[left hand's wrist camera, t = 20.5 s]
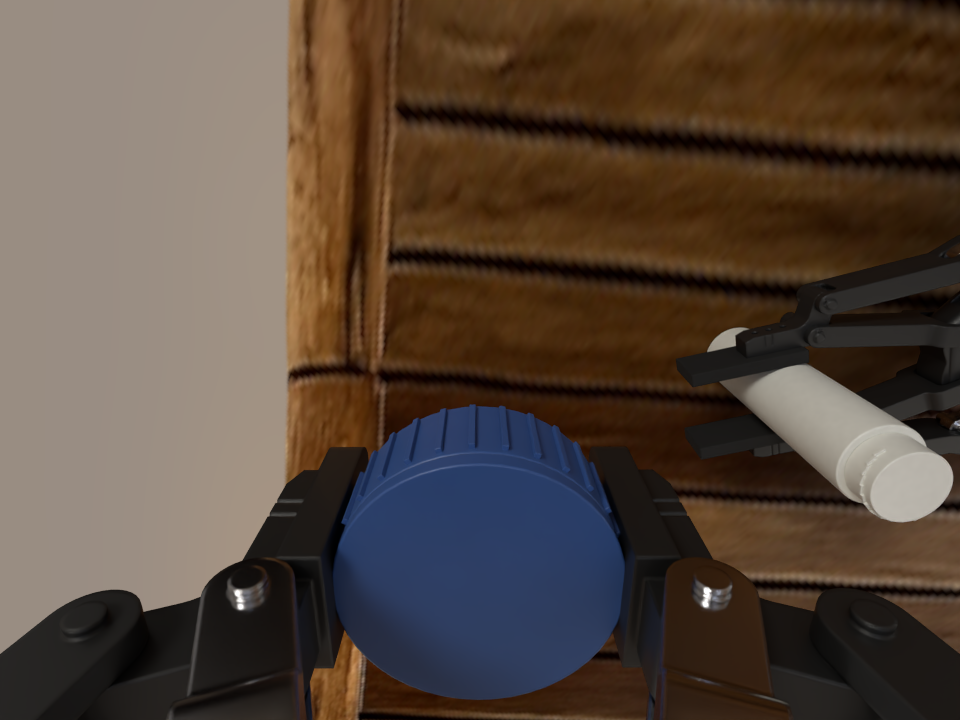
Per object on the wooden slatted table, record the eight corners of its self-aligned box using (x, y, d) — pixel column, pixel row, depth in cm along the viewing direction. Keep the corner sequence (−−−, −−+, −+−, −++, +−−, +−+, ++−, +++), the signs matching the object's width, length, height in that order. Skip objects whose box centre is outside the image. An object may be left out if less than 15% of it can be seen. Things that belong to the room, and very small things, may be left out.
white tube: (697, 343, 39) (852, 471, 23) (753, 317, 38) (951, 429, 23) (716, 391, 40) (876, 543, 25) (771, 366, 40) (970, 505, 24)
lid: (558, 635, 12) (573, 727, 10) (331, 586, 12) (301, 672, 10) (643, 439, 11) (680, 503, 9) (383, 371, 10) (360, 424, 8)
